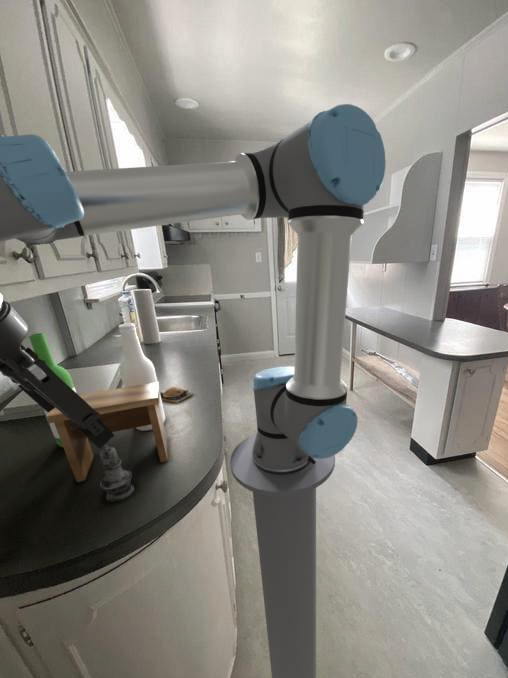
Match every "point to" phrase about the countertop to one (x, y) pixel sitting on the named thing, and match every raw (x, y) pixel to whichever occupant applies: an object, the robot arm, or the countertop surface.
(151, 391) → the desk
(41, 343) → the wine bottle
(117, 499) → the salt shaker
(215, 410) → the countertop surface
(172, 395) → the brown sandwich
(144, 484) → the countertop surface
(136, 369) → the alcohol
